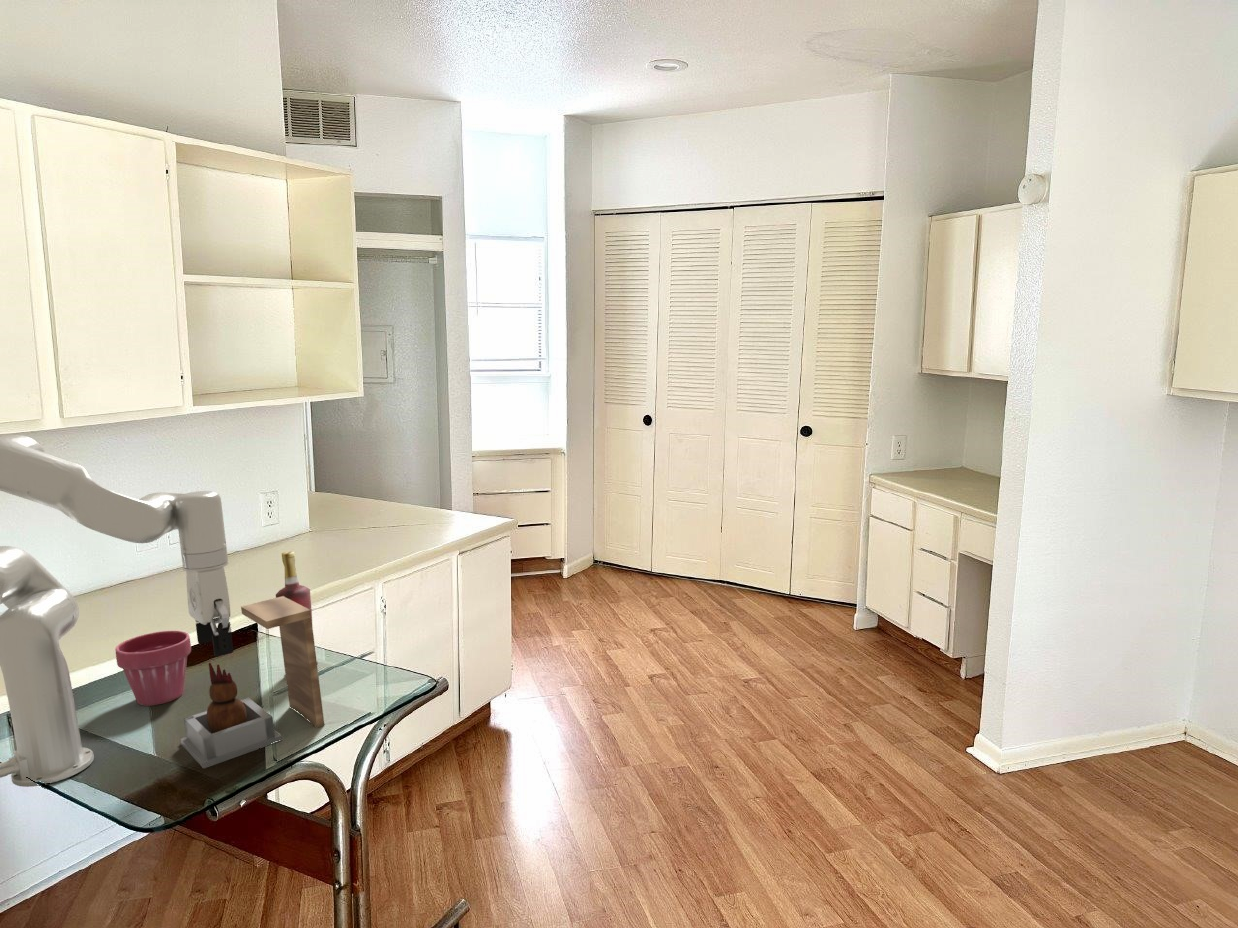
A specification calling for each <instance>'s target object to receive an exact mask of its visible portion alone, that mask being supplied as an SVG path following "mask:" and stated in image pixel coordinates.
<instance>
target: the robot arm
mask: <svg viewBox="0 0 1238 928" xmlns="http://www.w3.org/2000/svg"><path fill="white" fill-rule="evenodd" d="M0 492H4V493H6V494H9V495H12V496H15V497H18V498H22V499H25V500H28V501H31V502H34V503H37V504H40V505H43V506H46V507H50V508H53V509H55V510H58V511H60V512H61V513H63V514H64V515H65V516H66V517H67V518H68V517H69V518H70V519H71V520H73V521H75V522H77V523H78V524H80V525H81V526H83V527H86V528H88V529H90V530H92V531H95V532H97V533H100V534H103V535H106V536H109V537H113V538H115V539H119V540H122V541H125V542H130V543H134V544H148V543H153V542H155V541H157V540H159V539H160V538H162V537H163V536H164V535H166V534H168V533H170V532H172V531H175V530H178V538H179V545H180V554H181V562H182V570H183V571H184V572H186V573H185V574H186V577H185V579H186V595H187V606H188V607H187V608H188V614H189V616H190V617H191V618H192V619H194V620H195V630H196V637H197V643H198V644H200V645H202V644H206V643H210V642H212V649H213V655H214V656H215V657H217V658H219V657H223V656H226V655H229V654H232V653H234V644H233V636H232V627H231V625H232V624H231V621H230V617H231V603H230V602H231V601H230V595H229V589H228V582H227V577H226V572H225V567H226V566H227V565H229V557H228V556H229V555H228V549H227V548H228V547H227V541H226V539H227V538H226V532H225V523H224V514H223V502H222V499H221V496H220V494H219V493H217V492H216V491H212V490H202V491H201V490H200V491H199V490H198V491H193V492H192V491H191V492H186V493H181V492H180V493H176V492H161V491H160V492H153V493H152V492H151V493H149V494H147V495H145V496H142V497H140V498H139V499H136V498H134V497H130V496H127V495H124V494H121V493H118V492H115V491H113V490H110V489H109V488H106V487H104V486H102V485H100V484H98V483H97V482H95V481H94V479H93V478H92V477H91V476H90V475H89V472H88V470H87V469H86V468H85V467H84V466H83V465H82V464H80V463H76V462H73V461H70V460H67V459H64V458H61V457H58V456H56V455H52V454H49V453H46V452H45V449H44V447H43V446H42V445H41V444H40V443H39V442H38V441H37V440H35V439H34V438H32V437H30V436H26V435H22V434H7V435H2V436H0ZM2 604H3V605H4V606H5V607H6V608H7V609H6V610H5V611H4V612H3V613H2V614H1V615H0V671H1V673H2V677H3V681H4V687H5V692H6V697H7V700H8V705H9V706H8V707H9V711H10V716H11V717H10V718H11V722H12V723H11V724H12V728H13V735H14V739H15V745H16V750H15V751H14V752H13V753H14V756H12V757H8V760H6V761H3V762H0V779H1V778H5V777H7V776H10V779H11V782H12V784H13V785H15V786H18V787H24V788H25V787H27V788H29V787H37V786H41V785H37V784H36V783H34V782H33V781H35V782H38V781H41V782H44V783H50V784H53V783H57V782H59V781H62V780H65V779H68V778H70V777H73V776H74V775H77V774H78V773H80V772H82V771H83V770H85V769H87V768H88V767H89V766H90V765H91V764H92V763H93V761H94V760H95V756H94V752H93V750H91V749H90V748H88V747H83V745H82V741H81V740H82V738H81V734H80V733H81V732H80V726H79V723H78V722H79V721H78V717H77V711H76V704H75V699H74V694H73V693H74V692H73V686H72V680H71V676H70V670H69V666H68V663H67V660H66V657H65V654H64V652H63V651H62V648H61V646H60V640H61V639H62V638H63V637H64V636H66V634H68V633H69V632H71V631H72V629H73V628H74V627H75V625H76V624H77V623H78V619H79V614H80V609H79V605H78V603H77V601H76V598H75V597H74V596H73V595H72V594H71V593H70V591H69V590H68V589H67V588H66V587H65V586H64V585H63V584H62V583H61V582H60V581H59V580H58V579H57V578H56V577H54V575H53V574H52V573H50V571H49V570H47V568H45V567H44V565H42V564H41V563H40V561H38V560H37V558H35V557H34V556H32V554H30V553H28V552H26V551H25V550H23V549H21V548H18V547H15V546H10V545H0V605H2ZM26 777H28V778H30V779H31V780H33V781H31V780H30V779H28V778H26Z"/></svg>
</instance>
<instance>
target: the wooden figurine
mask: <svg viewBox="0 0 1238 928" xmlns="http://www.w3.org/2000/svg"><path fill="white" fill-rule="evenodd" d="M208 670H209V678H210V686H209V690H208V691H209V698H210V700H211V701H210V703H209V704H208V706H207V708H206V709H207V710H206V711H207V722H208V726H209V729H210V731H211V733H212V734H213V733H216V732H219V731H222V730H224V729H227V728H230V727H233V726H236V725H239V724H242V723H245V722H246V717H247V714H246V709H245V706H244V704H243V702H242V701H241V700H242V699H239V698H238V697H237V695H238V687H237V684H236V682H235V681H234V680H233V678H232V675H231V672H228V673H227V672H226V669H225V668H224V669H223V670H221V667H220V664H217V665H216V671H215V669H214V667H213V665H212V663H211V662H209V663H208Z"/></svg>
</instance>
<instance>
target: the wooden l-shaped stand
mask: <svg viewBox="0 0 1238 928" xmlns="http://www.w3.org/2000/svg"><path fill="white" fill-rule="evenodd" d="M240 609H241V610H240V611H241V614H242V615H243V616H244V617H246V618H248V619H249V620H251V621H253V622H254V623H255V624H258V625H260V626H261V627H263V628H265V629H266V630H269V629H273V628H277V627H279V634H280V642H281V643H280V644H281V650H282V658H283V664H284V674H285V680H286V681H285V682H286V689H287V690H286V691H287V696H288V705H289V708H290V707H291V708H293V709H295V710H296V711H298V712H299V713H300V714H302V715H303V716H304V717H305V718H306V719H308V720H309V721H310V722H311V723H312V725H313V726H314V727H315V726H316V727H315V728H317V729H318V728H320V727H323V726H325V720H324V719H325V718H324V712H323V711H324V710H323V702H322V695H321V692H322V691H321V686H320V685H321V684H320V679H319V678H320V677H319V670H318V665H317V662H318V661H317V654H316V645H315V635H314V630H313V628H314V627H313V618H312V619H311V611H310V609H308V608H306V607H304V606H302V605H300V604H298V603H296V602H294V601H292V600H290V599H288V598H286V597H284V596H282V597H278V598H276V597H274V598H269V599H265V600H262V601H257V602H254V603H251V604H250V603H249V604H247V605H242V606H240ZM291 708H290V709H291ZM293 709H292V710H293ZM305 718H304V719H305ZM306 719H305V720H306ZM309 721H308V722H309ZM310 722H309V723H310ZM311 723H310V724H311Z"/></svg>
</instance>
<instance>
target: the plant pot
mask: <svg viewBox="0 0 1238 928" xmlns="http://www.w3.org/2000/svg"><path fill="white" fill-rule="evenodd" d="M191 652H192V644H191V638H190V635H189V633H187V632H186V631H181V630H163V631H155V632H151V633H150V632H149V633H145V634H142V635H138V636H135V637H132V638H129V639H127V640H125V641H123V642H121V643H119V644H118V645H116V647H115V659H116V665H117V667H118V668H120V669H123V673H124V675H125V677H126V679H127V682H128V684H129V687H130V688H131V691H132V693H133V696H134V698H135V700H136V703H137V704H138V705H141V706H149V707H150V706H157V705H162V704H166V703H169V702H172V701H175V700H176V699H178V698H180V697H182V695H183V694H184V691H185V682H186V674H187V673H186V672H187V664H188V663H187V662H188V656H189V655H190V654H191Z"/></svg>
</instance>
